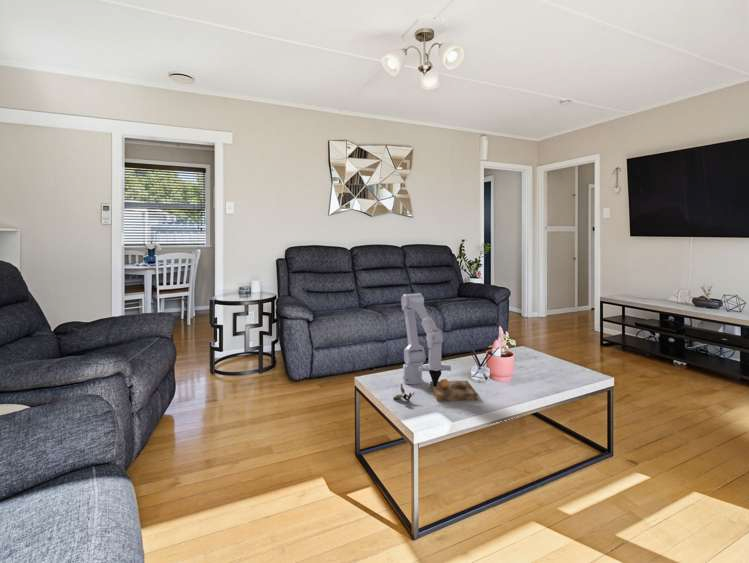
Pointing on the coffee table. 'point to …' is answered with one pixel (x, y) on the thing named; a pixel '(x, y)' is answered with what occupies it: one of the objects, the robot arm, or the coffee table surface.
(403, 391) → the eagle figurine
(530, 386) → the coffee table surface
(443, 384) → the ball
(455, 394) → the board
